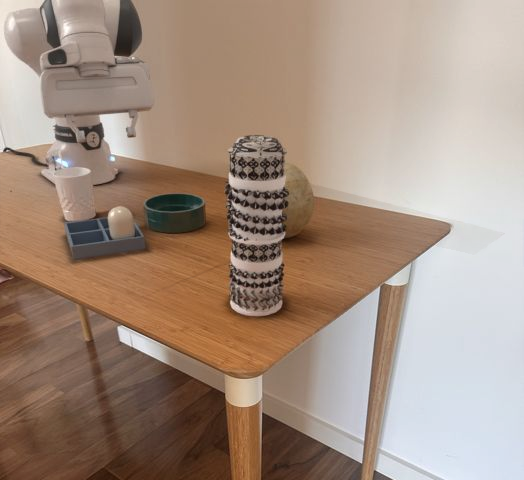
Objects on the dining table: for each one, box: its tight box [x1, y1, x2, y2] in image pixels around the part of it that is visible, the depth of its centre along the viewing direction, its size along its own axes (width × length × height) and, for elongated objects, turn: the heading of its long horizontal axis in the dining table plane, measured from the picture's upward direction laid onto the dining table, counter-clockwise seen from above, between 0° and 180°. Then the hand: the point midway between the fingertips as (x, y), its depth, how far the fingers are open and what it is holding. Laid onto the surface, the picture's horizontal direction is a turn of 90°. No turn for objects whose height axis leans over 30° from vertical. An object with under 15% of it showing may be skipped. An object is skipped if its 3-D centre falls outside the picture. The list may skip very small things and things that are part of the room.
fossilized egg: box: [282, 161, 315, 239], centre depth 101 cm, size 13×13×15 cm
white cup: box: [53, 167, 97, 222], centre depth 110 cm, size 8×8×10 cm
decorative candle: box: [223, 134, 289, 317], centre depth 74 cm, size 9×9×25 cm
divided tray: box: [63, 216, 147, 261], centre depth 100 cm, size 14×14×3 cm
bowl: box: [143, 192, 207, 234], centre depth 108 cm, size 13×13×5 cm
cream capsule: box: [107, 205, 135, 240], centre depth 97 cm, size 5×5×8 cm
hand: (107, 139), depth 96 cm, fingers open, 8 cm apart
